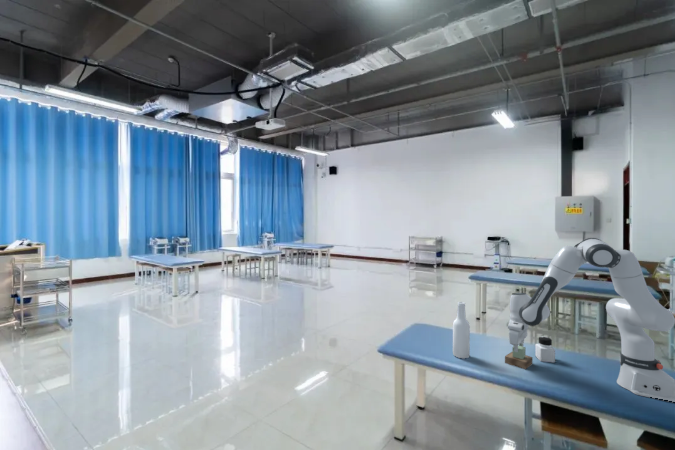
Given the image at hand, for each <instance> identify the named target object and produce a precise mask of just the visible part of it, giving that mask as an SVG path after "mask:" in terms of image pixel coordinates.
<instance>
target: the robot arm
mask: <svg viewBox="0 0 675 450" xmlns="http://www.w3.org/2000/svg"><path fill="white" fill-rule="evenodd" d="M586 263H589V264H590V265H591V266H593V267H596V268H608V271H609V274H610V275H609V276H610V278H611V281H612V285H613V288H614V291H615V292H616V294H617V295H619V296H620V297H617V298H616V297H614V298H613V297H612V298H611V299H609V300H608V301H607V302H606V305H605V309H606V310H605V312H606V313H607V314H608V316H609V317H610V318H611V319H612V320H613V321H614V323H615V325H616V327H617V329H618V332H619V335H620V342H621V343H620V344H621V345H620V346H621V349H620V350H621V351H620V353H619V365H620V369H619V373H618V376H617V379H616V384H617V385H619V386H620V387H622V388H624V389H626V390H628V391H629V392H631V393H633V394H634V395H637V396H642V397H646V398H650V397H652V398H651V399H655V398H658V399H657V400H659V399H663V400H662V401H664V400H668V401H667V402H669V401H672V402H671V403H673V402H675V378H674V377H672V376H671V375H669V374H668V373H667V372H666V371H665V370H663V369H664V366H663V364H662V362H661V361H660V360H657V359H656V358H655V357H656V356H655V352H656V351H655V348H656V347H655V342H654V340H653V339H652V337H650V336H649V335H648V334H647V332H646V331H645V330H644V329H646V330H650V331H656V332H668V331H670V330H672V329H673V328H674V325H675V316H674V314H673V313H672V311H670V310H669V309H667V308H666V307H665V306H663V305H662V304H661V303H660V301H658V300H657V299H656V298H655V297H654V295H653V294H652V293H651V291H650V290H649V288H648V285H647V282H646V280H645V276H644V273H643V269H642V267H641V265H640V263H639V260H638V258H637V257H636V255H635V254H634V253H633V252H632V251H631V250H627V249H617V250H615V249H614V248H613V247H611V246H610V245H609V244H608V243H607V242H605V241H603V240H601V239H599V238H597V237H587V238H584V239H583V240H582V241H580V242H579V243H577V244H575V245H574V246H573V245H564V246H562V247H561V248H560V249H559V250H558V252H556V254H554V256H553V258H552V259H551V261H550V263H549V264H548V266H547V269H546V270H545V273H544V275H543V278H542V280H541V282H540V284H539V285H538V287H537V289H536V291H535V292H534V293H533V295H532V296H530V295H529V294H528V293H525V292H515V293H513V294H511V295H510V299H509V311H510V313H509V321H508V324H507V329H508V338H509V339H508V340H509V345H512V348H513V347H514V351H515V352H518V351H519V348H518V346H522V347H524V344H525V339H526V338H527V337H528V329H529V326H532V327H536V326H538V325H539V324H540V323H542V322H543V321H545V320H546V319H548V318H549V317H550V315H551V309H550V307H549V305H547V304H548V302H549V300H550V299H551V297H552V296H553V295H554V294H555V293H556V292H557V291H559V290H561V289H562V288H564V287H566V286H568V284H569V283H570V282H571V281H572V280H573V279H574V277H575V276H576V274H577V272H578V271H579V269H580V268H581V266H583V265H584V264H586ZM621 297H622V298H621Z"/></svg>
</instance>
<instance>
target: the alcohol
mask: <svg viewBox="0 0 675 450" xmlns="http://www.w3.org/2000/svg"><path fill="white" fill-rule="evenodd" d="M456 313H457V314H456V317H455V319H454V320H453V323H452V354H453V356H454V357H455V356H456V357H455V358H457V357H458V358H457V359H460V358H462V359H461V360H463V359H464V360H466V359H465V358H467V359H469V357H471V356H470V355H471V354H470V352H471V351H470V350H471V349H470V346H471V345H470V341H471V338H470V336H471V335H470V334H471V333H470V332H471V330H470V329H471V326H470V323H469V321H468V320H467V317H466V302H464V301H457V311H456Z"/></svg>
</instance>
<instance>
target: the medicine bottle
mask: <svg viewBox="0 0 675 450" xmlns="http://www.w3.org/2000/svg"><path fill="white" fill-rule="evenodd" d="M552 341H553V340H552V339H551V338H550V337H548V336H543V335H541V336H539V337H538V343H535V344H534V345H535V352H534V353H535V357H536V358H537V359H538V360H539V361H540V362H543V363H545V362H546V363H556V349H555V347H553V346H552V345H553V344H552V343H553V342H552Z"/></svg>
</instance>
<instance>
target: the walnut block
mask: <svg viewBox="0 0 675 450" xmlns="http://www.w3.org/2000/svg"><path fill="white" fill-rule="evenodd" d="M504 364H508V365H511V366H513V367H516V368H519V369H523V370H526V369H528V368H530V367H531V366H532V365H533V357H532V356H530V355H527V354H525V358H524V359H520V358H516V357H513V350H512V351H511V352H509V353H508V354H506V355H505V356H504Z"/></svg>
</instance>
